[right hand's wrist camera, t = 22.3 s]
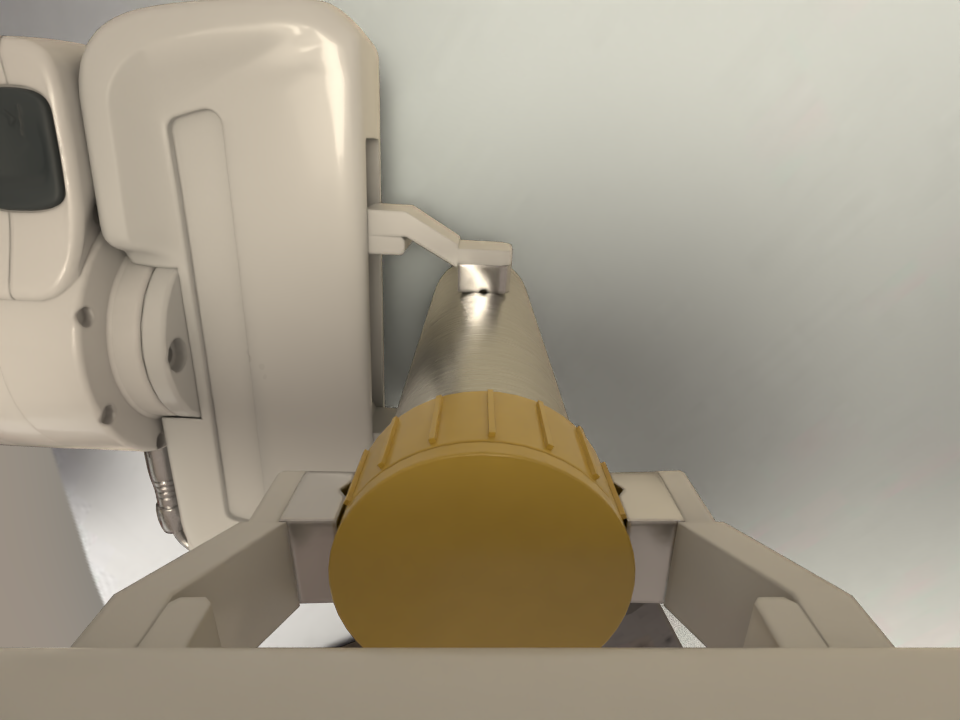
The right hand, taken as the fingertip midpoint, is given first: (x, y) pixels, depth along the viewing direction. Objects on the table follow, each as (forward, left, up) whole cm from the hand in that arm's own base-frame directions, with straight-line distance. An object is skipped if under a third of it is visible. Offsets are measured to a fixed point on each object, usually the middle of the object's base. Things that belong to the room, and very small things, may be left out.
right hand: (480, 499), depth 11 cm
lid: (0, 0, +2) cm, 2 cm away
